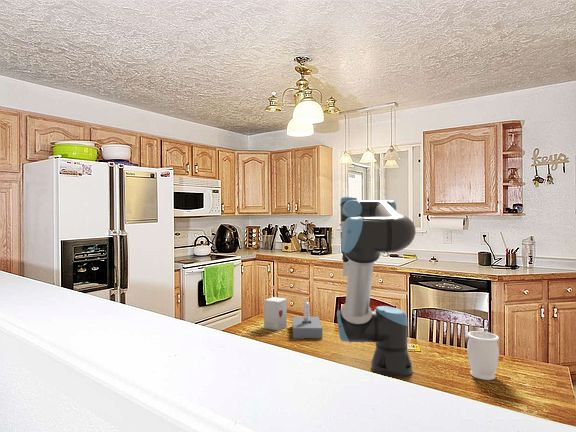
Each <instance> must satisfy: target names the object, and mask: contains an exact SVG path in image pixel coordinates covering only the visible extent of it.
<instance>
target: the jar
mask: <svg viewBox="0 0 576 432" xmlns="http://www.w3.org/2000/svg"><path fill="white" fill-rule="evenodd" d="M467 338H468V340H467V344H466V345H467V346H466V347H467V348H466V353H467V358H468V363H469V367H470V369H471V370H470V371H469V372H470V373H469V374H470V375H471V376H472V377H474V378H476V379H479V380H483V381H491V380H492V381H493V380H495V379H496V374H495V373H496V371H497V367H498V361H499V355H500V350H499V343H498V341H499V339H500V337H499V335H497V334H495V333H492V332H489V331H482V330H470V331H468V332H467Z"/></svg>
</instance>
